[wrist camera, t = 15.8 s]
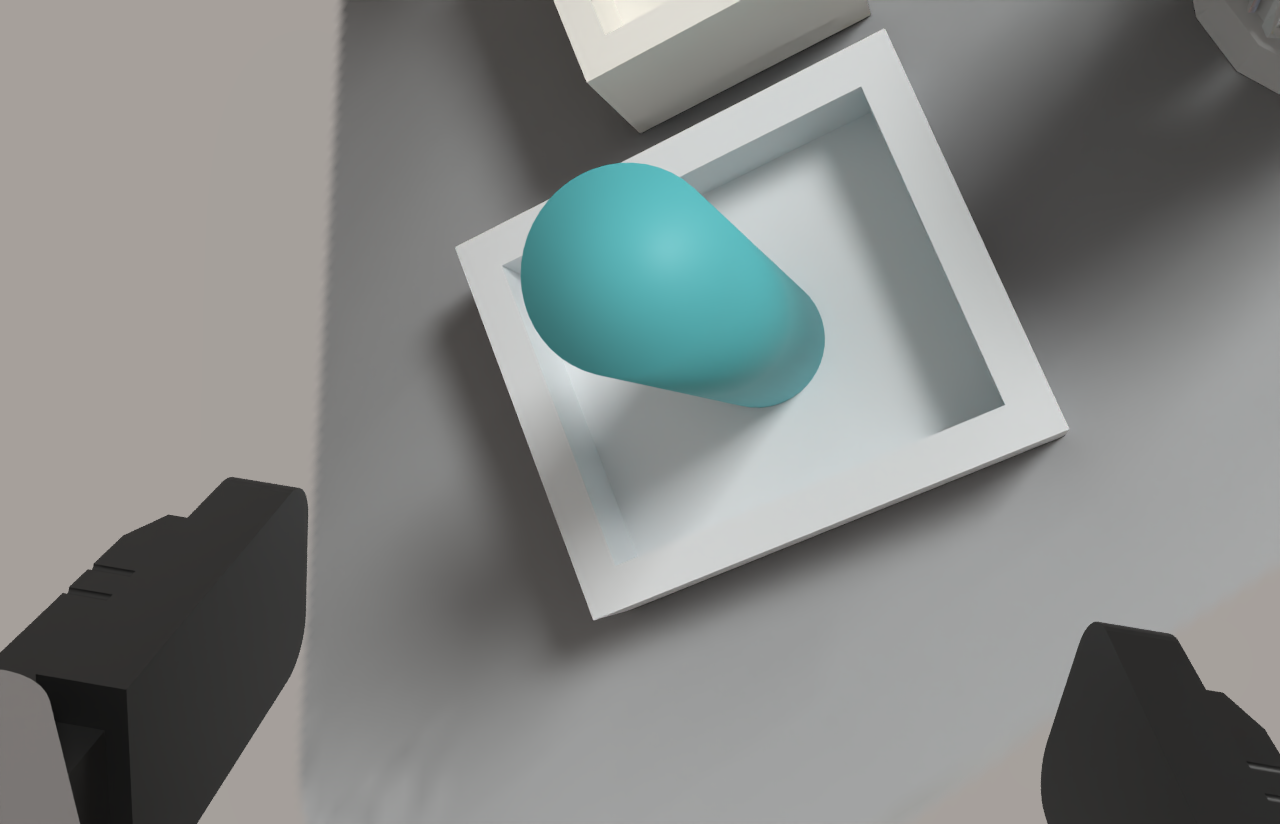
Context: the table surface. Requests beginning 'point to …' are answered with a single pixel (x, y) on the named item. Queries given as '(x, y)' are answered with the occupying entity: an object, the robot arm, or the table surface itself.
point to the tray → (850, 367)
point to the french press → (1246, 35)
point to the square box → (690, 46)
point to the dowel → (665, 291)
